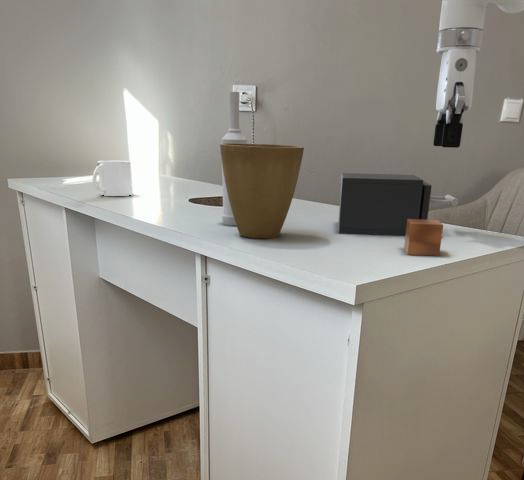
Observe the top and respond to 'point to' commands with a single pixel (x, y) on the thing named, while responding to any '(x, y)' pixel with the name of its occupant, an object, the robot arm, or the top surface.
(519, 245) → the top surface
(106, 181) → the mug
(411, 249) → the block
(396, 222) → the cabinet
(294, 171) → the plant pot
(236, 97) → the bottle
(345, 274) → the top surface
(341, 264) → the top surface
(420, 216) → the drawer
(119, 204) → the top surface
